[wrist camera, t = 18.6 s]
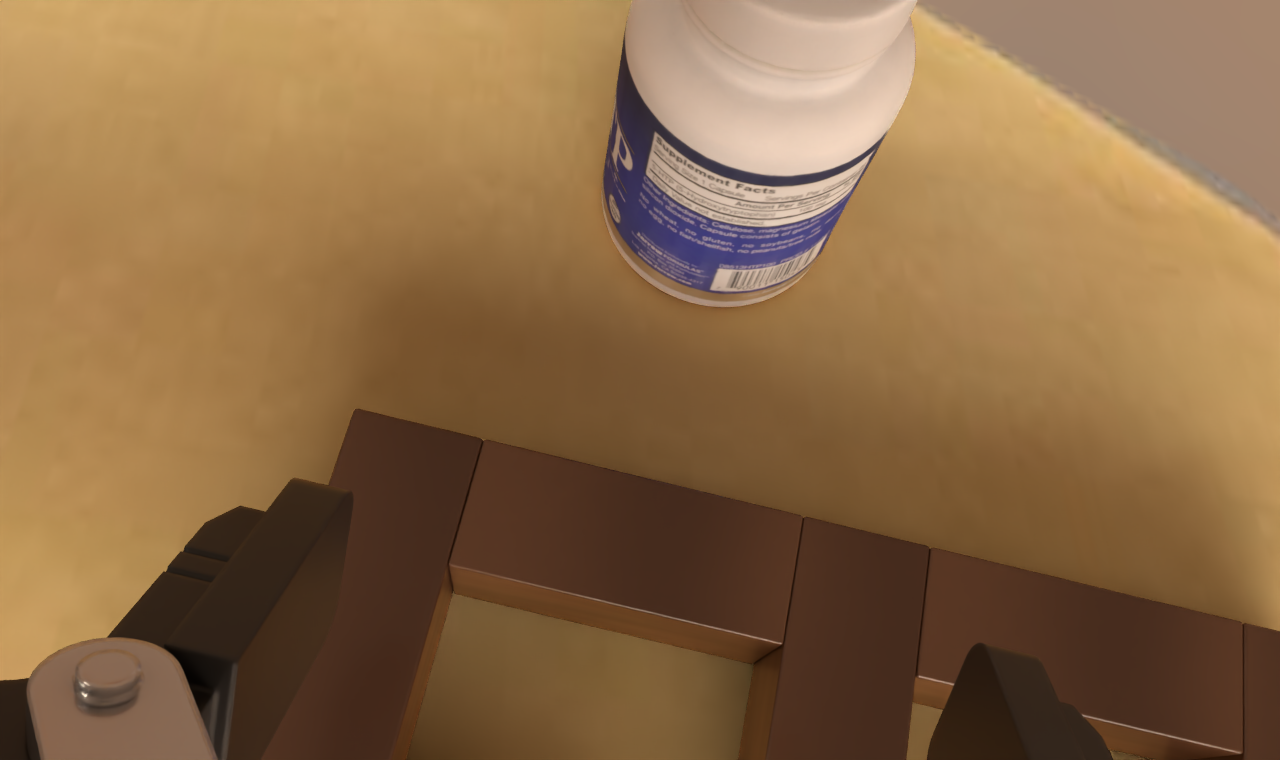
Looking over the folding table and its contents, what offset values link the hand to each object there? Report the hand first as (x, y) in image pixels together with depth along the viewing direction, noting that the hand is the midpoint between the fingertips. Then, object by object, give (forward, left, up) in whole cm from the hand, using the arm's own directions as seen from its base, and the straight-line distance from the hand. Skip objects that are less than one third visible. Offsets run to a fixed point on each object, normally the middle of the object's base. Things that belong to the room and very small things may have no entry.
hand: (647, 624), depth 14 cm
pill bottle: (0, +11, -8) cm, 14 cm away
